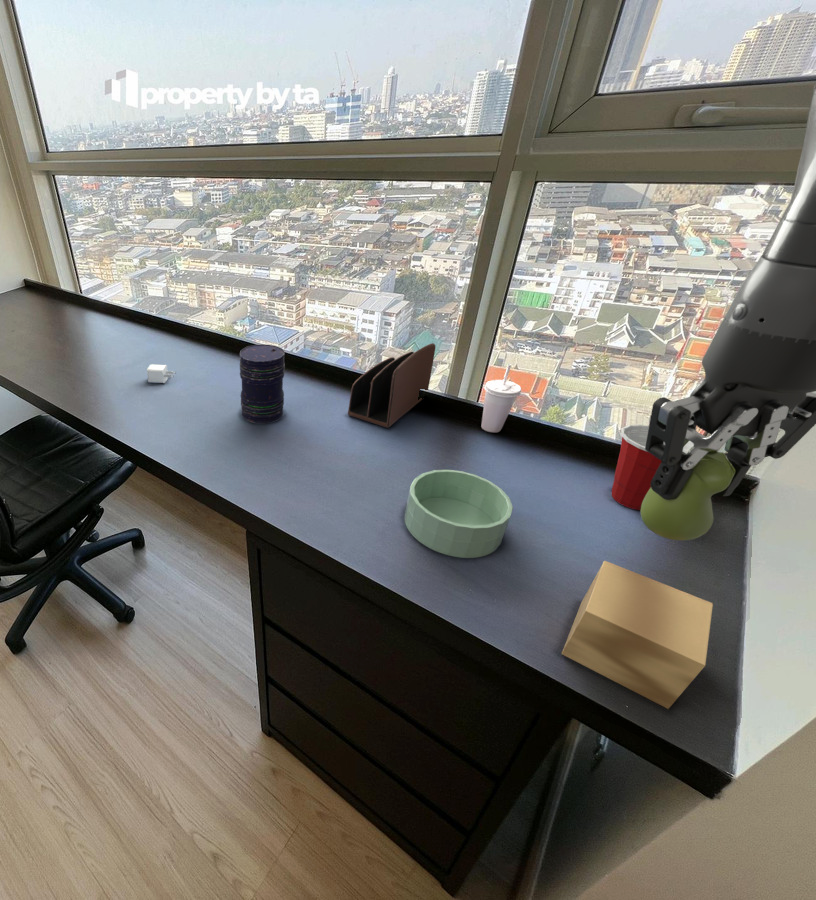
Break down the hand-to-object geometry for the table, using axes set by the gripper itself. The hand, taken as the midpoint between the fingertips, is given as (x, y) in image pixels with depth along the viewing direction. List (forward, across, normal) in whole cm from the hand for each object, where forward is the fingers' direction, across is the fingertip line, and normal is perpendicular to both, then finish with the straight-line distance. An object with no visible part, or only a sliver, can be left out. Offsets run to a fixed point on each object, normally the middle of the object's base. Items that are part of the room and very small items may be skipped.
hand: (689, 492), depth 47 cm
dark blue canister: (+22, -34, +63) cm, 75 cm away
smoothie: (+23, +12, +50) cm, 56 cm away
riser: (+23, +1, -2) cm, 23 cm away
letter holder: (+22, -5, +62) cm, 67 cm away
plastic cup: (+23, +23, +25) cm, 41 cm away
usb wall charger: (+22, -59, +85) cm, 105 cm away
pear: (+6, 0, 0) cm, 6 cm away
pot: (+23, -9, +22) cm, 32 cm away
